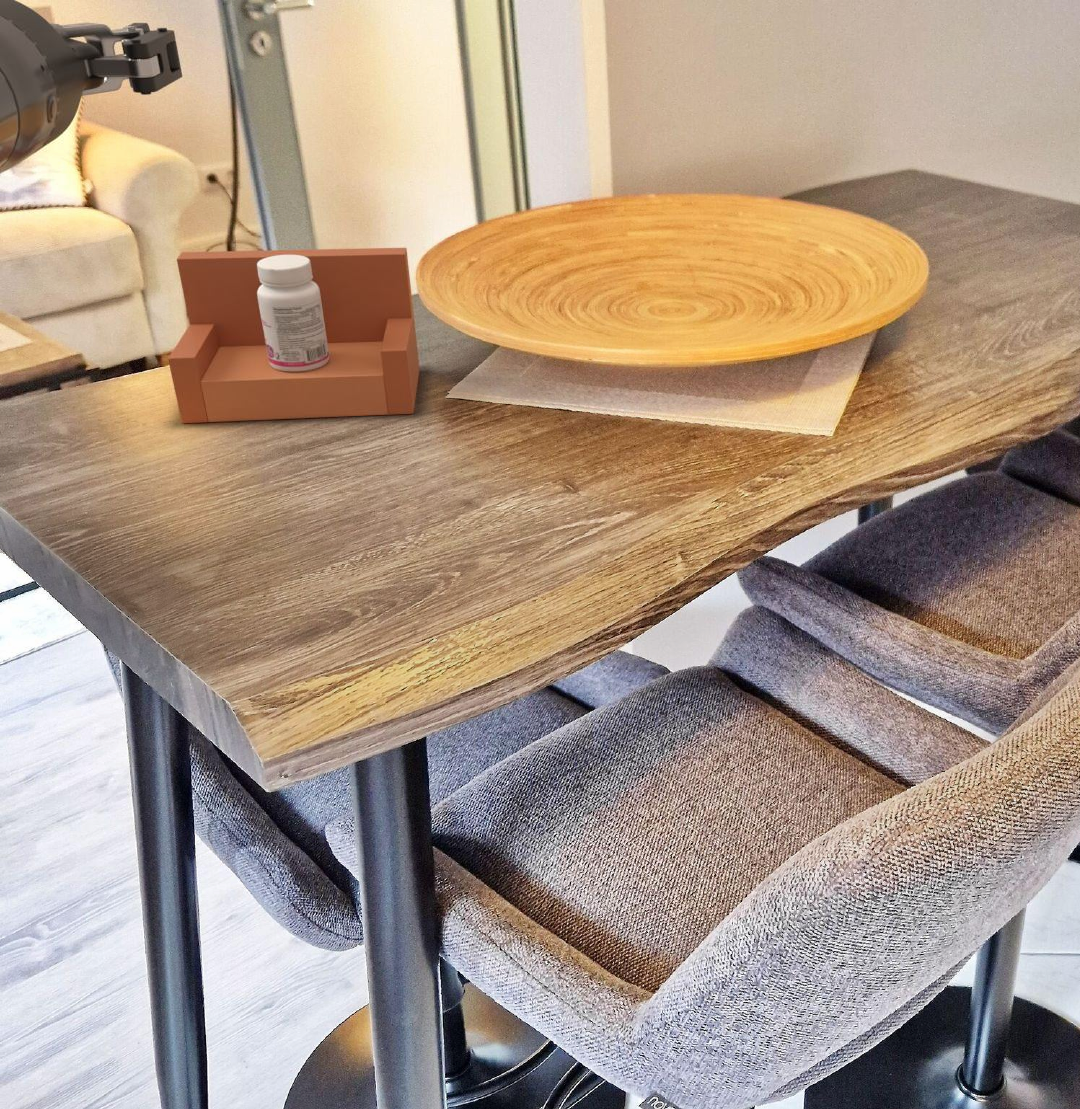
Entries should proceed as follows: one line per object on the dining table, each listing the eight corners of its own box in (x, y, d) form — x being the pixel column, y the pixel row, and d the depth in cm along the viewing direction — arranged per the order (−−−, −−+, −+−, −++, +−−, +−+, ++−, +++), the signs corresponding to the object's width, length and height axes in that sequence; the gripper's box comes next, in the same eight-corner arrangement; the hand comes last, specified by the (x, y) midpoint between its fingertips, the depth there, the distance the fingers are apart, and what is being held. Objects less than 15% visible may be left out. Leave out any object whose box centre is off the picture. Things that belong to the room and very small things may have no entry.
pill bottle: (269, 355, 102) (252, 254, 98) (329, 350, 103) (314, 251, 99) (268, 375, 98) (251, 272, 94) (331, 370, 99) (316, 267, 95)
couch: (181, 423, 98) (152, 289, 92) (206, 377, 106) (181, 252, 101) (413, 413, 101) (398, 282, 95) (419, 369, 109) (406, 247, 104)
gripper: (111, 2, 58) (184, -27, 72) (-227, -1, 55) (-83, -31, 69) (144, 166, 61) (208, 108, 75) (-170, 169, 59) (-45, 108, 73)
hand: (68, 41), depth 72 cm, fingers open, 8 cm apart
